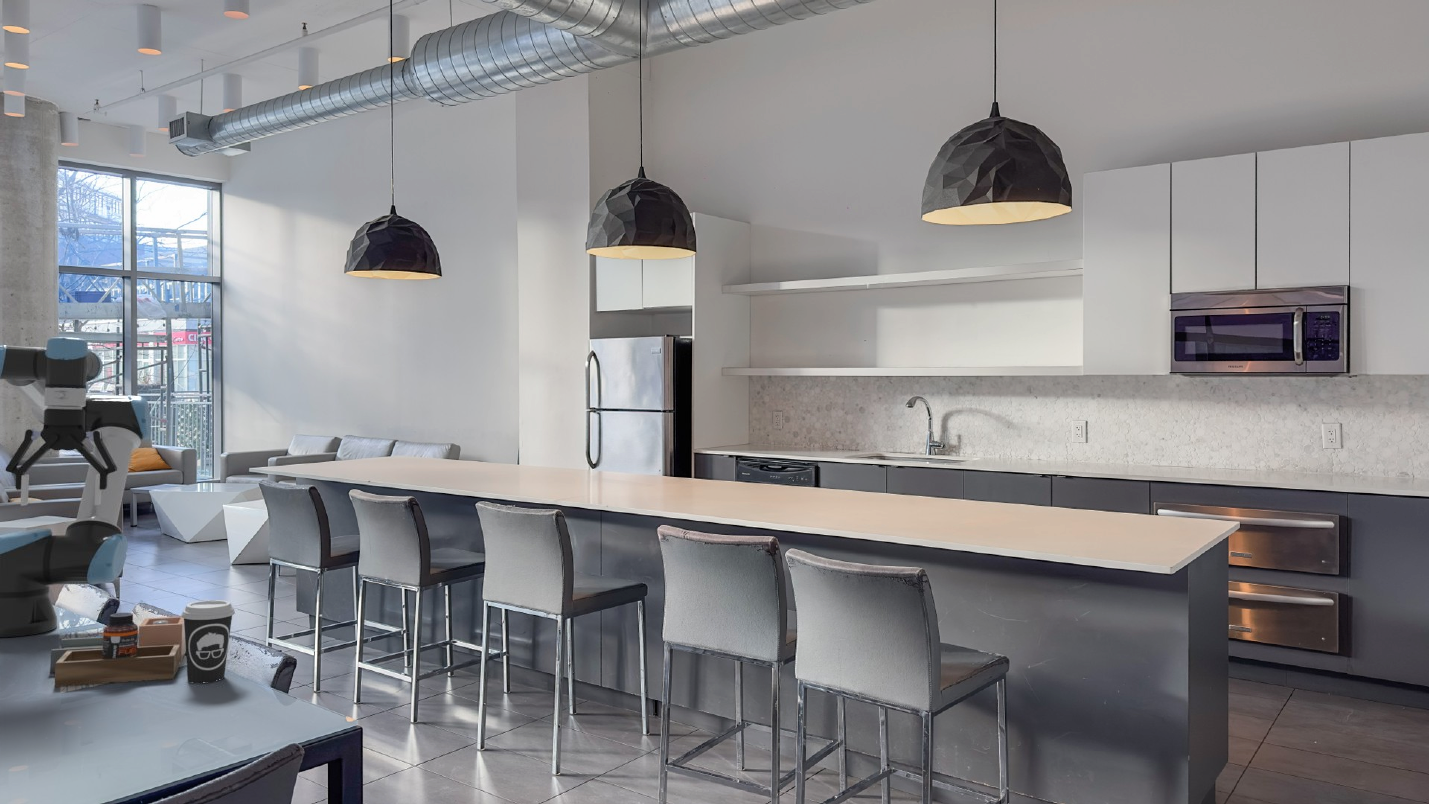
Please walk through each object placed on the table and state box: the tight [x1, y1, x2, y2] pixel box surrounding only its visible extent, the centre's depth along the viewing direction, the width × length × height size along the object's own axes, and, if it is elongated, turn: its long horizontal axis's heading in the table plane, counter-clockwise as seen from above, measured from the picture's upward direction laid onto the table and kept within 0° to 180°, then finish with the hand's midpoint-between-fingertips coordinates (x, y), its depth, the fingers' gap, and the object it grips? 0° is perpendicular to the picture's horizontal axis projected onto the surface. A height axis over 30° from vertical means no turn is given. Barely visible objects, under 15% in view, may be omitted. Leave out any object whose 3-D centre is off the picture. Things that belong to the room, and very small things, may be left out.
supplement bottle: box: [102, 612, 139, 659], centre depth 193 cm, size 6×6×11 cm
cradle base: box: [49, 636, 103, 674], centre depth 200 cm, size 10×10×4 cm
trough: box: [54, 644, 181, 688], centre depth 193 cm, size 10×20×4 cm, turn 113°
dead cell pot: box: [137, 616, 186, 663], centre depth 207 cm, size 8×8×8 cm
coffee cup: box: [180, 599, 236, 684], centre depth 193 cm, size 10×10×15 cm
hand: (61, 504), depth 211 cm, fingers open, 13 cm apart
